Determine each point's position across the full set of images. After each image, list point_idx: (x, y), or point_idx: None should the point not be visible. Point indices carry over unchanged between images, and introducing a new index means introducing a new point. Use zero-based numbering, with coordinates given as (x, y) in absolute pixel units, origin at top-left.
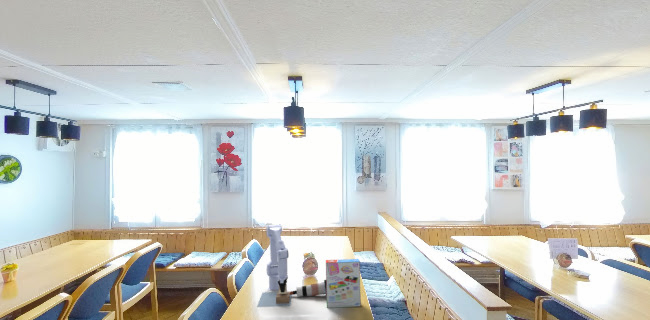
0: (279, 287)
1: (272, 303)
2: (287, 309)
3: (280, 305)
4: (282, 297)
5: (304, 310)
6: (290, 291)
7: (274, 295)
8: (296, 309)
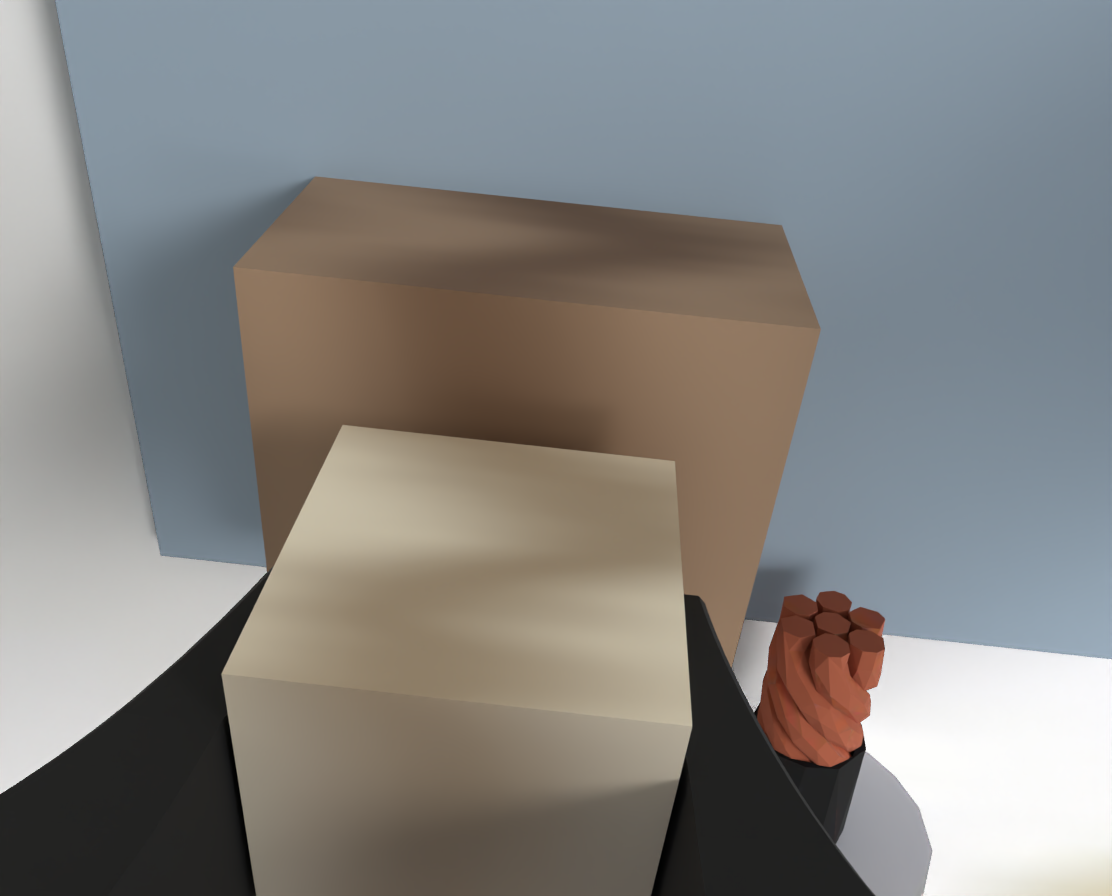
0: (244, 662)
1: (318, 41)
2: (17, 470)
3: (165, 318)
4: (268, 486)
5: (30, 757)
6: (840, 706)
7: (1096, 107)
8: (52, 641)
